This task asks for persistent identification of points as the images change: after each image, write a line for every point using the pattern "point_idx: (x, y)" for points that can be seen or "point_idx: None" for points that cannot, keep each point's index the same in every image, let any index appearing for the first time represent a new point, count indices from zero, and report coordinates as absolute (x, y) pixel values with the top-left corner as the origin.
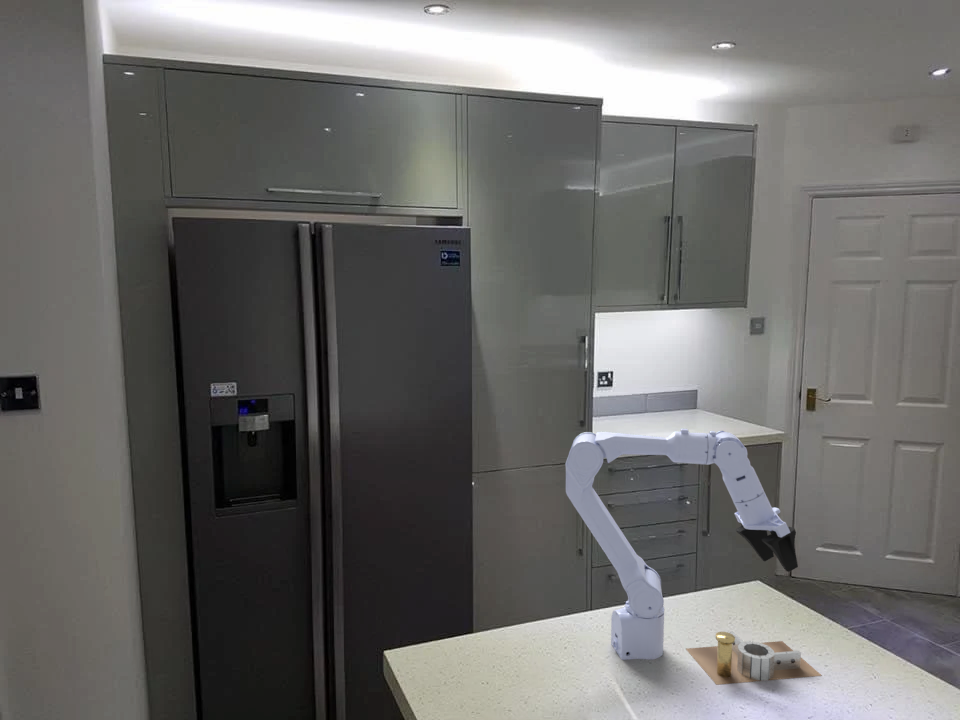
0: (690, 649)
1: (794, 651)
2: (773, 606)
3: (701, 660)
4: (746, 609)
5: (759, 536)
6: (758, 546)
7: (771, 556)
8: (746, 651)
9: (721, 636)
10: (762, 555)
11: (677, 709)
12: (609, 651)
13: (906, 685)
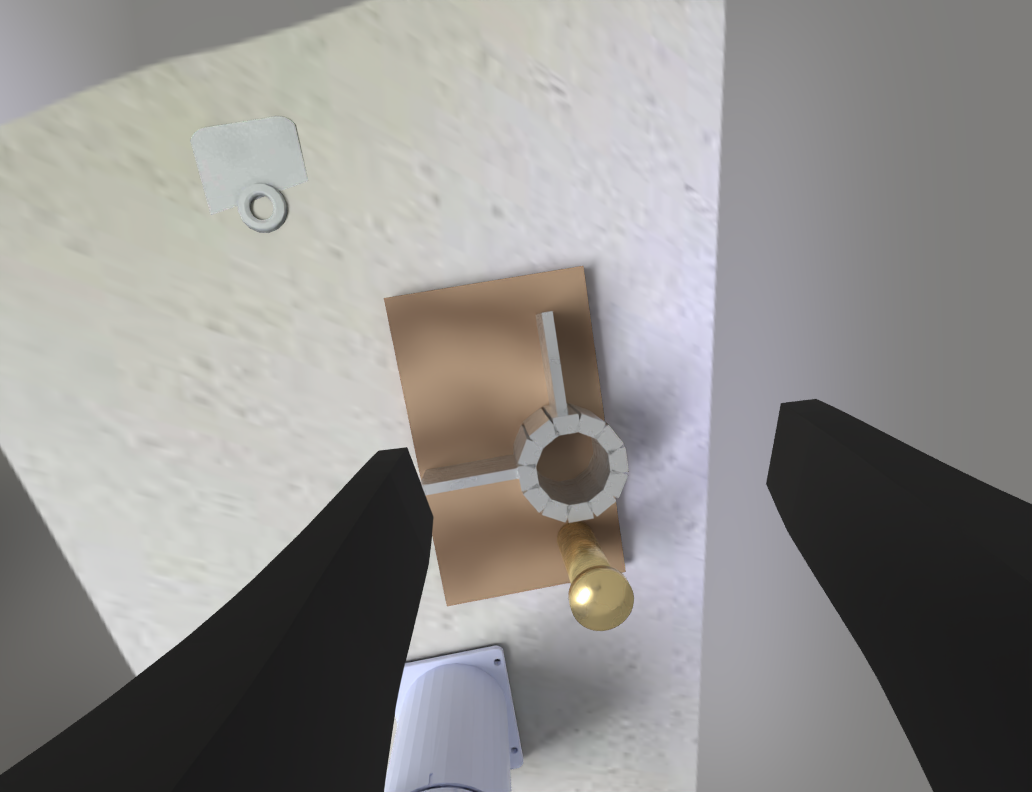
0: (451, 594)
1: (547, 330)
2: (81, 201)
3: (510, 579)
4: (124, 317)
5: (329, 732)
6: (391, 649)
7: (412, 471)
8: (585, 503)
9: (604, 614)
10: (419, 558)
11: (693, 668)
12: None
13: (601, 14)
